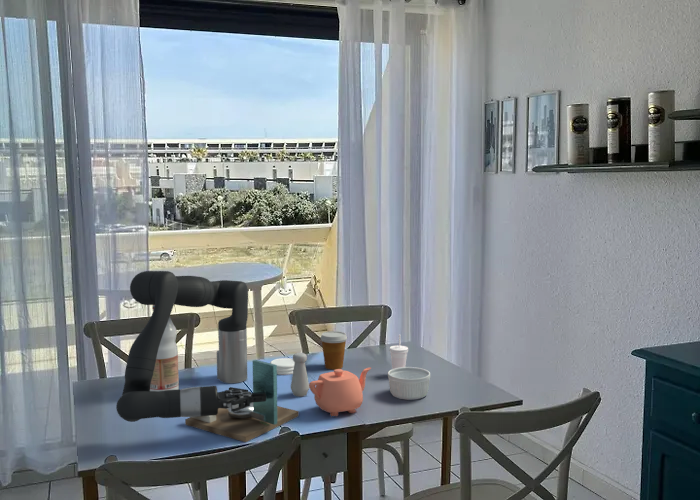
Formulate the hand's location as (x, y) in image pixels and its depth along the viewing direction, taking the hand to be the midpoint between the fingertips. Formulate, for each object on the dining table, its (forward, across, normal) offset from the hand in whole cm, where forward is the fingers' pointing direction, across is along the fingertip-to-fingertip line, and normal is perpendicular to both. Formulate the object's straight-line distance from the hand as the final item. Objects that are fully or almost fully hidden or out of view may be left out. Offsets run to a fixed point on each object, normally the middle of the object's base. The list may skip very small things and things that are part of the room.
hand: (265, 396), depth 176 cm
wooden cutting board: (-5, +9, +10) cm, 14 cm away
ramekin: (+47, +19, +10) cm, 51 cm away
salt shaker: (+14, +27, +10) cm, 32 cm away
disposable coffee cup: (+30, +53, +10) cm, 62 cm away
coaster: (+12, +53, +10) cm, 55 cm away
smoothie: (+49, +38, +10) cm, 63 cm away
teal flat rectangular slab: (-3, +6, +7) cm, 10 cm away
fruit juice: (-28, +39, +10) cm, 49 cm away
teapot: (+23, +11, +10) cm, 27 cm away
